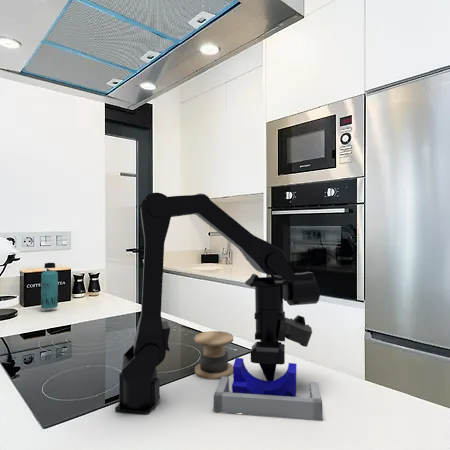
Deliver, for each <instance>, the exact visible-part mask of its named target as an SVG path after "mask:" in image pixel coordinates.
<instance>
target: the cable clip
mask: <svg viewBox="0 0 450 450" xmlns="http://www.w3.org/2000/svg"><path fill="white" fill-rule="evenodd" d="M232 365H233V374H232V376H233V377H232V378H233V379H232V380H233V381H232V383H231V393H243V394H258V395H273V396H288V397H297V363H295V362H292V363H291V362H288V366H287V369H286V371H285V372H284V373H283V375H281V376H280V377H278V378H277V379H274V380H272V381H267V380H266V379H265V380H264V379H260V378H258V377H257V376H256V377H255V376H254V375H253V374H251V373H250V371H249V370H248V369H247V367H246V365H245V362H244V357H243V358H241V357H235V360H234V362H233V364H232Z"/></svg>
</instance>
